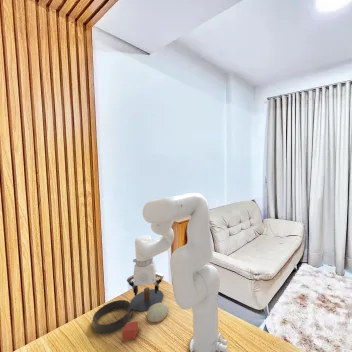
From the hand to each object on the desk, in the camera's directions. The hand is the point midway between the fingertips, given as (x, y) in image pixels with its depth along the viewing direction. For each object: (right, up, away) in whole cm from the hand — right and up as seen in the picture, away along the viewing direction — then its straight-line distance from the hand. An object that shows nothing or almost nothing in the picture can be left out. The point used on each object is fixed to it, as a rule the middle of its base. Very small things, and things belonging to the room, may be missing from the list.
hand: (146, 292), depth 104 cm
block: (+2, -7, -20) cm, 21 cm away
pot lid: (0, -4, 0) cm, 4 cm away
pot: (-10, -6, -12) cm, 16 cm away
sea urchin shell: (+9, -6, -10) cm, 15 cm away
